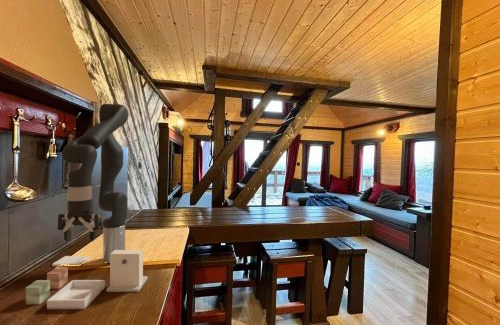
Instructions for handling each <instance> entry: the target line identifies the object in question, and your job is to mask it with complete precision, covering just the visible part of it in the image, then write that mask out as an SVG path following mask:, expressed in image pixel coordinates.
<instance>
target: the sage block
mask: <svg viewBox="0 0 500 325" xmlns="http://www.w3.org/2000/svg"><path fill="white" fill-rule="evenodd" d="M50 297H51V289H50V280H47V279H45V280H44V279H39V280H35V281H33V282H32V283H31V284H29V285H27V286H26V287H25V305H40V304H42V303H43V302H45V301H47V300H48V299H49V298H50Z"/></svg>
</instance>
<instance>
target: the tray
mask: <svg viewBox="0 0 500 325" xmlns="http://www.w3.org/2000/svg"><path fill="white" fill-rule="evenodd" d="M105 288H106V280H105V279H72V280H71V281H69V282H67V283H66V284H65V285H64V286H62V287H61V288H60V290H58V291H57V292H56V293H54V294H53V295H52V296H50V297H49V298H47V299H46V309H47V311H48V310H86V309H87V307H88V306H90V304H91V303H92V302H93V301H94V300H95V299H96V298H97V297H98V296H99V295H100V293H101V292H102V291H104V289H105Z"/></svg>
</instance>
